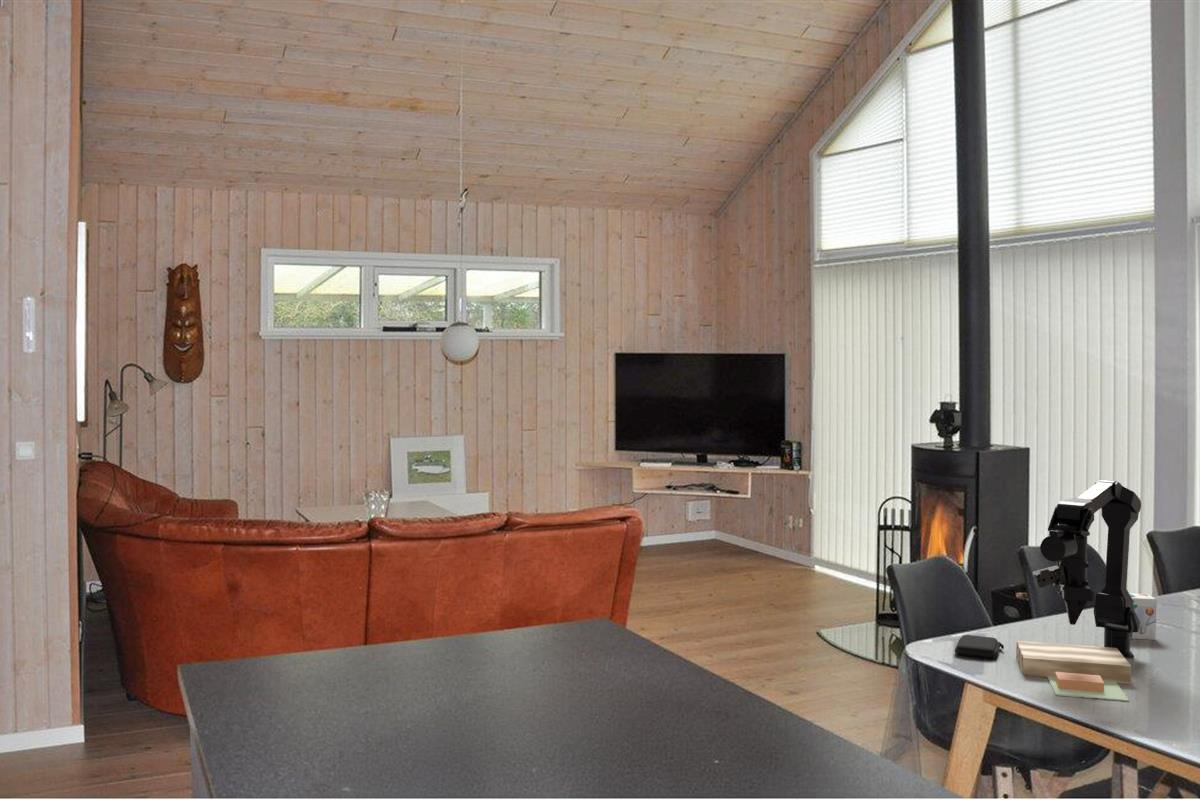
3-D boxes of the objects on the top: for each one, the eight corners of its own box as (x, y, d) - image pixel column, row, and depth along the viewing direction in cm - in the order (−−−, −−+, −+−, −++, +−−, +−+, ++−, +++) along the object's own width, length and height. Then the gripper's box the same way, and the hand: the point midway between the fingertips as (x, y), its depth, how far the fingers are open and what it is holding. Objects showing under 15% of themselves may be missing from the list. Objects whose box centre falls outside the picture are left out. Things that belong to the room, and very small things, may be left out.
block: (1058, 679, 221) (1058, 688, 221) (1104, 683, 218) (1104, 692, 218) (1055, 671, 227) (1055, 680, 227) (1099, 675, 224) (1099, 684, 224)
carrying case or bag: (1000, 663, 243) (1005, 649, 256) (1001, 650, 243) (1005, 637, 256) (953, 658, 247) (960, 644, 261) (953, 645, 247) (960, 632, 261)
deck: (1016, 657, 247) (1016, 640, 247) (1116, 664, 241) (1116, 648, 241) (1023, 675, 232) (1023, 657, 232) (1130, 683, 226) (1131, 666, 225)
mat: (1047, 677, 230) (1047, 675, 230) (1115, 682, 226) (1115, 681, 226) (1055, 695, 217) (1055, 693, 217) (1128, 701, 213) (1128, 700, 213)
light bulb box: (1112, 638, 267) (1113, 597, 266) (1105, 632, 273) (1105, 591, 273) (1157, 640, 265) (1157, 598, 264) (1148, 633, 271) (1148, 593, 271)
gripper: (1030, 548, 246) (1029, 613, 246) (1040, 561, 228) (1039, 631, 228) (1081, 550, 243) (1080, 616, 243) (1095, 564, 225) (1094, 635, 225)
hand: (1072, 624), depth 235 cm, fingers closed
